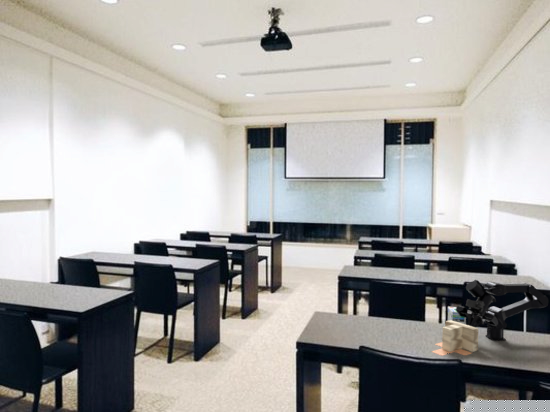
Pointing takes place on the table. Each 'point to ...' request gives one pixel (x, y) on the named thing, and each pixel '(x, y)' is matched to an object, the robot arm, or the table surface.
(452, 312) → the light bulb box
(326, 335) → the table surface
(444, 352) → the t mark
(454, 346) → the beige stepped block
